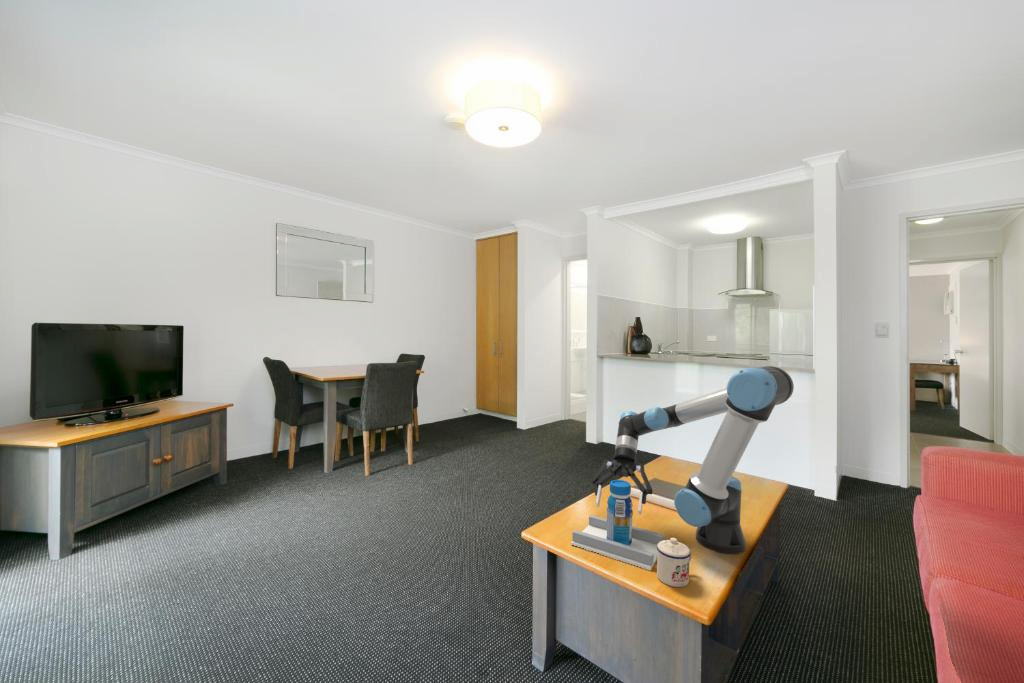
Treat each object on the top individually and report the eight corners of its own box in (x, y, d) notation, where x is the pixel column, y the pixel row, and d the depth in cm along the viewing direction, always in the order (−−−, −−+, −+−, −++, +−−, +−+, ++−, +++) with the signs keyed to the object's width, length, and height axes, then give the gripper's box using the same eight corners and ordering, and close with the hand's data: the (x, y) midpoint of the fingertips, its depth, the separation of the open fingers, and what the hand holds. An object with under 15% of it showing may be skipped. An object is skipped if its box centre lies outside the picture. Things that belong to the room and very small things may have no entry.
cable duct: (665, 545, 140) (665, 533, 139) (650, 570, 124) (651, 557, 124) (592, 524, 154) (592, 513, 154) (571, 545, 139) (571, 533, 139)
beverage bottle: (600, 540, 140) (602, 481, 139) (616, 533, 145) (618, 476, 144) (621, 551, 133) (622, 489, 133) (637, 543, 138) (638, 484, 138)
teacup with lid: (674, 591, 115) (675, 550, 114) (649, 574, 123) (650, 535, 122) (703, 579, 120) (704, 540, 120) (677, 564, 128) (678, 526, 128)
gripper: (662, 461, 148) (658, 520, 134) (592, 452, 157) (582, 506, 144) (662, 450, 143) (657, 511, 129) (589, 441, 152) (578, 497, 139)
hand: (618, 508), depth 137 cm, fingers open, 13 cm apart
